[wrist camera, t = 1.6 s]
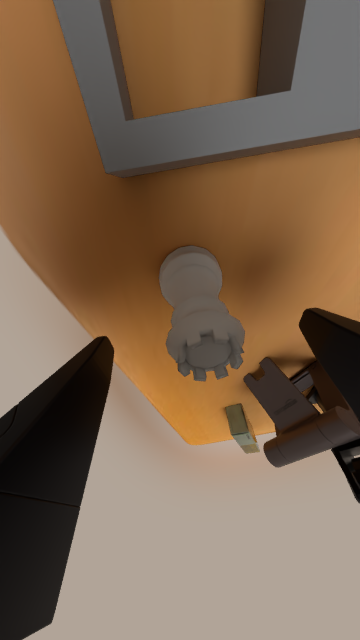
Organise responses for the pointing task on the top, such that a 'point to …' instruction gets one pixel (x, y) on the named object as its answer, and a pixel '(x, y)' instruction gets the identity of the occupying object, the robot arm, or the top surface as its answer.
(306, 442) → the portable electronic device stand
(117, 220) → the top surface
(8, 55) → the top surface
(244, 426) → the medication box
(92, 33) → the rail
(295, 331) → the top surface
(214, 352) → the rook chess piece
